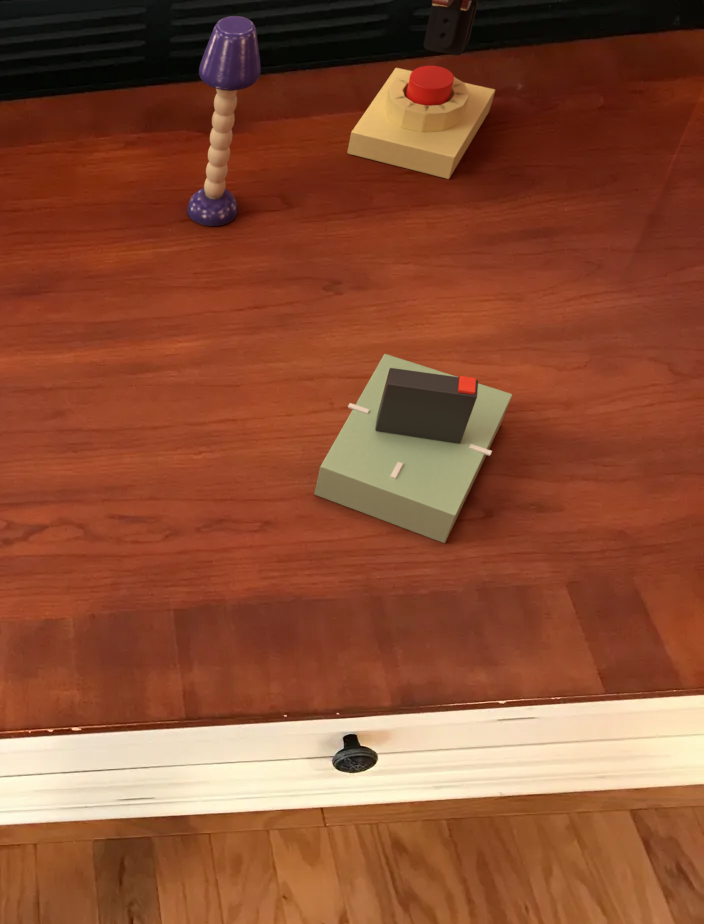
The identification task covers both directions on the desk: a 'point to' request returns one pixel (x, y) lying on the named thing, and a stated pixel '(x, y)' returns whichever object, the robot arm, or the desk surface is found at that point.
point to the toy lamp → (224, 112)
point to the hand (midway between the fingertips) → (445, 47)
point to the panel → (408, 461)
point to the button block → (420, 127)
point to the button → (430, 85)
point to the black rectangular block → (426, 405)
